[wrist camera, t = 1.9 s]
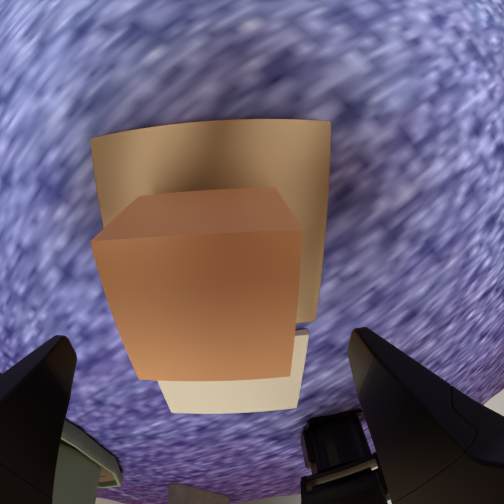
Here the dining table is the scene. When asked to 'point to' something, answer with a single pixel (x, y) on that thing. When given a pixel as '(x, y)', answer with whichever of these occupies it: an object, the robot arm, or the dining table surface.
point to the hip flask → (193, 496)
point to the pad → (240, 390)
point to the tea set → (82, 468)
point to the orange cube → (204, 283)
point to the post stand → (227, 173)
